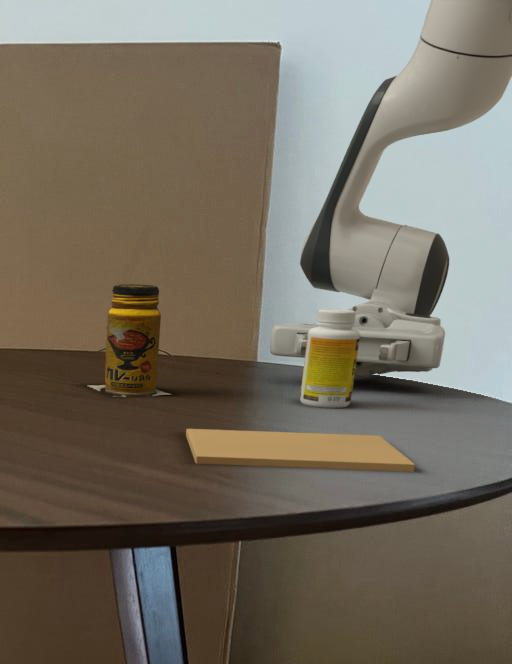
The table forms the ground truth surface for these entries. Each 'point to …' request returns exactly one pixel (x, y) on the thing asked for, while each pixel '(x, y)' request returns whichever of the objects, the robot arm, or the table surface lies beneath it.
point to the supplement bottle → (330, 360)
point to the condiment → (132, 342)
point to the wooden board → (296, 450)
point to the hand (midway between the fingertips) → (343, 350)
